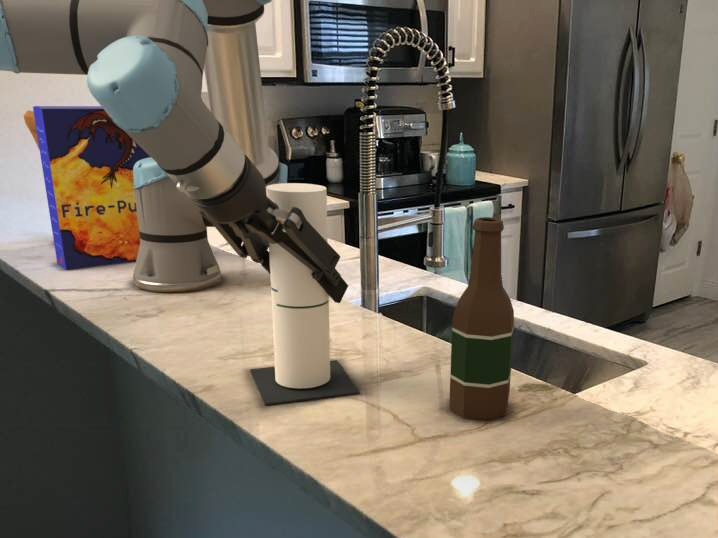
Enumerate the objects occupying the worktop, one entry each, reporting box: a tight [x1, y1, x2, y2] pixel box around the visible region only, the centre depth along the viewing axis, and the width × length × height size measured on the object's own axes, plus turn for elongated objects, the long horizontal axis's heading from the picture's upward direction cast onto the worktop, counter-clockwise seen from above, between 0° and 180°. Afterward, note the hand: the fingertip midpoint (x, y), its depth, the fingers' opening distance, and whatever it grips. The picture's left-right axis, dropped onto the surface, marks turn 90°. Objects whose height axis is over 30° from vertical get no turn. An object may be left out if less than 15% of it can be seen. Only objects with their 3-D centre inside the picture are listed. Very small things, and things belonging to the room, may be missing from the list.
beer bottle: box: [449, 216, 515, 422], centre depth 92 cm, size 8×8×24 cm
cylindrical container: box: [266, 182, 331, 388], centre depth 97 cm, size 7×7×25 cm
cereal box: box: [32, 105, 150, 271], centre depth 151 cm, size 22×6×30 cm, turn 132°
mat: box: [250, 359, 360, 406], centre depth 101 cm, size 12×12×1 cm
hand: (317, 288), depth 100 cm, fingers closed on cylindrical container, 7 cm apart
